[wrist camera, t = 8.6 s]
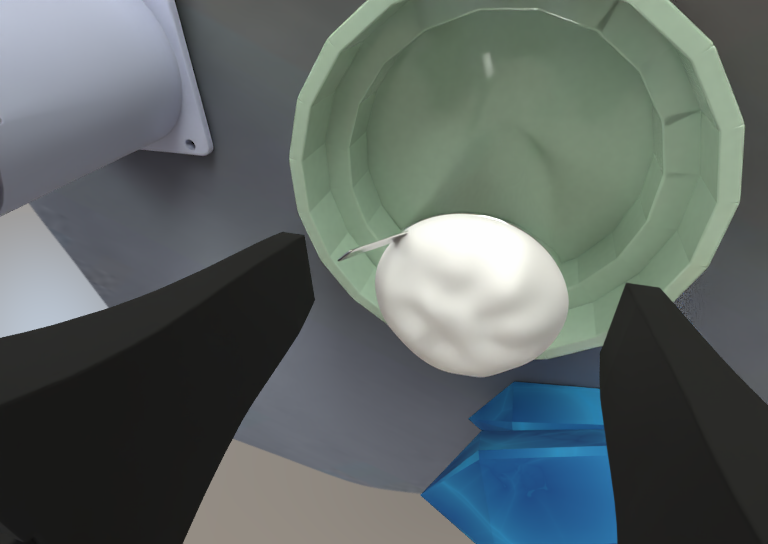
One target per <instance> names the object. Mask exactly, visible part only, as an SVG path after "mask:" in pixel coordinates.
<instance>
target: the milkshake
mask: <svg viewBox="0 0 768 544" xmlns="http://www.w3.org/2000/svg"><path fill="white" fill-rule="evenodd" d="M387 244H389V246H388V247H387V248H386V250H385V251H384V253H383V255H382V257H381V259H380V261H379V263H378V266H377V270H376V276H375V289H376V296H377V301H378V305H379V308H380V311H381V313H382V315H383V318H384V319H385V321H386V323H387V324H388V326H389V327H390V328H391V329H392V331H393V332H394V333H395V334H396V335H397V337H398V338H399V339H400V340H401V341H402V342H403V343H404V344H405V345H406V346H407V347H408V348H409V349H410V350H411V351H412V352H413V353H414V354H415V355H417V356H418V357H419V358H421V359H422V360H423V361H425V362H426V363H428V364H430V365H432V366H433V367H435V368H437V369H440V370H442V371H446V372H449V373H454V374H461V375H467V376H474V377H487V376H492V375H495V374H498V373H502V372H504V371H507V370H510V369H513V368H516V367H519V366H522V365H524V364H527V363H529V362H530V361H532V360H534V359H535V358H537V357H538V356H539V355H541V354H542V353H543V352H544V351H545V350H546V349H547V348H548V347H549V346H550V345H551V344H552V343H553V342H554V340H555V339H556V337H557V336H558V334H559V333H560V331H561V329H562V327H563V325H564V323H565V321H566V318H567V314H568V306H569V299H568V291H567V287H566V283H565V280H564V274H563V269H562V264H561V258H560V253H559V248H558V242H557V237H556V232H555V226H554V220H553V212H552V204H551V196H550V187H549V179H548V171H547V163H546V157H545V155H544V154H543V153H542V152H541V150H540V149H539V148H538V146H537V145H536V144H535V143H534V141H533V140H532V139H531V137H530V136H529V135H527V134H523V133H519V132H515V131H511V130H507V129H503V128H498V129H496V130H493V131H491V132H488V133H485V134H483V135H480V136H477V137H475V138H473V139H472V140H471V142H470V143H469V144H468V146H467V147H466V149H465V150H464V151H463V153H462V154H461V156H460V157H459V158H458V160H457V161H456V162H455V164H454V165H453V167H452V168H451V169H450V171H449V172H448V174H447V175H446V176H445V178H444V179H443V180H442V182H441V183H440V184H439V186H438V187H437V188H436V189H435V191H434V192H433V193H432V194H431V195H430V196H429V198H428V199H427V200H426V201H425V202H424V203H423V205H422V206H421V207H420V208H419V209H418V211H417V212H416V213H415V214H414V215H413V217H412V218H411V219H410V220H409V221H408V223H407V224H406V225H405V226H404V227H403V229H402V230H401V231H400V232H399V233H398V234H396V235H393V236H390V237H387V238H384V239H381V240H378V241H375V242H372V243H369V244H366V245H363V246H360V247H357V248H354V249H351V250H349V251H348V252H347V253H345V254H344V255H343V256H341V257H340V258H339V259H338V261H342V260H345V259H348V258H351V257H354V256H356V255H359V254H362V253H365V252H368V251H370V250H373V249H376V248H379V247H382V246H384V245H387Z"/></svg>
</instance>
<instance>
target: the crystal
mask: <svg viewBox="0 0 768 544" xmlns="http://www.w3.org/2000/svg"><path fill="white" fill-rule="evenodd" d="M469 420H470V421H471V422H472V423H474V424H475V425H476V426H477V427H478V428H479V429H481V430H482V431H481V432H480V433H479V434H478V435H477V436H476V437H475V438H474V439H473V440H472V441H471V442H470V443H469V445H468V446H467V447H466V448H465V449H464V450H463V451H462V452H461V453H460V454H459V455H458V456H457V457H456V458H455V459H454V460H453V461H452V462H451V463H450V465H449V466H448V467H447V468H446V469H445V470H444V471H443V472H442V473H441V474H440V475H439V476H438V477H437V478H436V479H435V480H434V481H433V482H432V483H431V484H430V486H429V487H428V488H427V489H426V490H425V491H424V492H423V493H422V494H421V496H422V497H423V498H424V499H425V500H426V501H428V502H429V503H430V504H431V505H432V506H433V507H434V508H436V509H437V510H438V511H439V512H440V513H441V514H442V515H443V516H445V517H446V518H447V519H448V520H449V521H450V522H451V523H453V524H454V525H455V526H456V527H457V528H458V529H459V530H461V531H462V532H463V533H464V534H465V535H466V536H467V537H468V538H470V539H471V540H472V541H473V542H474V543H476V544H617V522H616V512H615V502H614V494H613V487H612V480H611V473H610V466H609V459H608V452H607V445H606V438H605V431H604V424H603V416H602V409H601V401H600V389H598V388H586V387H575V386H563V385H551V384H539V383H527V382H515V381H514V382H513V383H512V384H510V385H509V386H508V387H507V388H505V389H504V390H503V391H502V392H501V393H499V394H498V395H497V396H496V397H494V398H493V399H492V400H491V401H489V402H488V403H487V404H486V405H485V406H483V407H482V408H481V409H480V410H478V411H477V412H476V413H475V414H474V415H472V416H471V417H470V418H469Z"/></svg>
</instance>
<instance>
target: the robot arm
mask: <svg viewBox="0 0 768 544" xmlns="http://www.w3.org/2000/svg"><path fill="white" fill-rule="evenodd" d="M191 140H192V141H193V142H194V144H195V146H194V145H193V144H192V142H191ZM139 149H141V150H151V151H161V152H171V153H180V154H190V155H200V156H205V155H208V154H209V153H211V152H212V151H213V142H212V139H211V135H210V131H209V127H208V124H207V120H206V116H205V112H204V109H203V105H202V101H201V97H200V94H199V90H198V86H197V83H196V79H195V75H194V71H193V68H192V64H191V60H190V56H189V53H188V49H187V45H186V41H185V38H184V34H183V30H182V26H181V23H180V19H179V15H178V11H177V8H176V4H175V0H0V216H3V215H5V214H7V213H9V212H11V211H13V210H15V209H17V208H19V207H21V206H23V205H25V204H27V203H29V202H32V201H34V200H36V199H38V198H40V197H42V196H44V195H46V194H48V193H50V192H52V191H54V190H56V189H58V188H60V187H62V186H65V185H67V184H69V183H71V182H73V181H75V180H77V179H79V178H81V177H83V176H85V175H87V174H89V173H91V172H93V171H95V170H98V169H100V168H102V167H104V166H106V165H108V164H110V163H112V162H114V161H116V160H118V159H120V158H122V157H124V156H126V155H129V154H131V153H133V152H135V151H137V150H139ZM314 301H315V298H314V291H313V285H312V279H311V273H310V267H309V260H308V254H307V248H306V242H305V236H304V235H299V234H292V233H285V232H281V233H279V234H276V235H274V236H271V237H269V238H267V239H265V240H262V241H260V242H258V243H256V244H254V245H252V246H250V247H248V248H246V249H244V250H242V251H240V252H238V253H236V254H234V255H232V256H230V257H228V258H226V259H224V260H222V261H220V262H218V263H216V264H214V265H211V266H209V267H207V268H205V269H203V270H201V271H199V272H197V273H194V274H192V275H190V276H188V277H185V278H183V279H181V280H179V281H177V282H174V283H172V284H170V285H168V286H166V287H163V288H161V289H158V290H156V291H154V292H151V293H148V294H146V295H143V296H141V297H138V298H135V299H133V300H130V301H127V302H124V303H122V304H119V305H116V306H113V307H110V308H107V309H105V310H101V311H98V312H95V313H92V314H88V315H85V316H81V317H78V318H75V319H72V320H68V321H65V322H62V323H58V324H55V325H51V326H47V327H44V328H40V329H36V330H32V331H28V332H24V333H20V334H15V335H11V336H6V337H2V338H0V544H183V542H184V539H185V537H186V535H187V533H188V530H189V528H190V526H191V524H192V522H193V519H194V517H195V515H196V512H197V510H198V508H199V506H200V504H201V502H202V499H203V497H204V495H205V493H206V491H207V489H208V487H209V485H210V482H211V480H212V478H213V476H214V474H215V472H216V470H217V468H218V466H219V464H220V462H221V460H222V458H223V456H224V454H225V452H226V450H227V448H228V446H229V444H230V443H231V441H232V439H233V437H234V435H235V433H236V431H237V429H238V427H239V426H240V424H241V422H242V420H243V418H244V417H245V415H246V413H247V412H248V410H249V408H250V407H251V405H252V403H253V402H254V400H255V399H256V397H257V396H258V394H259V393H260V391H261V390H262V388H263V387H264V385H265V384H266V383H267V381H268V380H269V378H270V377H271V375H272V374H273V372H274V371H275V369H276V368H277V366H278V365H279V363H280V362H281V360H282V359H283V357H284V356H285V354H286V353H287V351H288V349H289V348H290V346H291V345H292V343H293V342H294V340H295V339H296V337H297V336H298V334H299V332H300V330H301V328H302V326H303V324H304V322H305V320H306V318H307V316H308V314H309V312H310V309H311V307H312V305H313V303H314ZM600 401H601V409H602V416H603V424H604V431H605V438H606V445H607V452H608V459H609V466H610V473H611V480H612V487H613V494H614V502H615V512H616V522H617V544H768V405H767V404H766V403H765V402H764V401H763V400H762V399H761V398H760V397H759V396H758V395H757V394H756V393H755V392H754V391H753V390H752V389H751V388H750V387H749V386H748V385H747V384H746V383H745V382H744V381H743V380H742V379H741V378H740V377H739V376H738V375H737V374H736V373H735V372H734V371H733V370H732V369H731V368H730V366H729V365H728V364H727V363H726V362H725V361H724V360H723V359H722V358H721V357H720V356H719V355H718V353H717V352H716V351H715V350H714V349H713V348H712V347H711V346H710V345H709V343H708V342H707V341H706V340H705V339H704V338H703V337H702V336H701V334H700V333H699V332H698V331H697V330H696V329H695V328H694V326H693V325H692V324H691V323H690V322H689V321H688V319H687V318H686V317H685V316H684V315H683V314H682V312H681V311H680V310H679V309H678V308H677V307H676V305H675V304H674V303H673V302H672V301H671V300H670V298H669V297H668V296H667V295H666V294H665V293H664V292H663V291H662V289H661V288H660V287H653V286H646V285H639V284H632V283H626V284H625V287H624V289H623V292H622V295H621V297H620V300H619V303H618V306H617V308H616V311H615V314H614V317H613V319H612V322H611V325H610V328H609V330H608V333H607V336H606V338H605V341H604V344H603V347H602V349H601V352H600Z"/></svg>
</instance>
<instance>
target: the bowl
mask: <svg viewBox="0 0 768 544" xmlns="http://www.w3.org/2000/svg"><path fill="white" fill-rule="evenodd" d="M498 128H503V129H507V130H511V131H515V132H519V133H523V134H527V135H529V136H530V137H531V139H532V140H533V141H534V143H535V144H536V145H537V146H538V148H539V149H540V150H541V152H542V153H543V154H544V155H545V157H546V163H547V171H548V179H549V187H550V196H551V204H552V212H553V220H554V226H555V232H556V237H557V242H558V248H559V253H560V258H561V264H562V269H563V274H564V280H565V283H566V287H567V291H568V299H569V306H568V314H567V318H566V321H565V323H564V325H563V327H562V329H561V331H560V333H559V334H558V336H557V337H556V339H555V340H554V342H553V343H552V344H551V345H550V346H549V347H548V348H547V349H546V350H545V351H544V352H543V353H542V354H541V355H539V356H538V357H537V358H535V359H534V360H546V359H551V358H555V357H560V356H564V355H568V354H572V353H576V352H580V351H584V350H588V349H592V348H596V347H600V346H603V344H604V341H605V338H606V336H607V333H608V330H609V328H610V325H611V322H612V319H613V317H614V314H615V311H616V308H617V306H618V303H619V300H620V297H621V295H622V292H623V289H624V287H625V284H626V283H632V284H639V285H646V286H653V287H660V288H661V289H662V291H663V292H664V293H665V294H666V295H667V296H668V297H669V298H670V300H671V301H672V302H674V301H675V300H676V299H677V298H678V297H679V296H680V295H681V294H682V293H683V292H684V291H685V290H686V289H687V288H688V287H689V286H690V285H691V284H692V283H693V282H694V281H695V280H696V279H697V278H698V277H699V276H700V275H701V274H702V273H703V272H704V271H705V270H706V269H707V267H708V266H709V265H710V263H711V261H712V259H713V256H714V254H715V252H716V250H717V248H718V246H719V244H720V242H721V240H722V238H723V236H724V234H725V232H726V230H727V228H728V226H729V224H730V222H731V220H732V218H733V216H734V214H735V211H736V209H737V207H738V205H739V202H740V198H741V183H742V167H743V152H744V137H745V125H744V119H743V117H742V114H741V112H740V109H739V106H738V104H737V101H736V99H735V96H734V93H733V91H732V88H731V85H730V83H729V80H728V78H727V75H726V72H725V70H724V67H723V65H722V62H721V59H720V57H719V54H718V52H717V49H716V46H714V45H713V42H712V41H711V40H710V39H709V38H708V37H707V36H706V35H705V34H704V33H703V32H702V31H701V30H700V29H699V28H698V27H696V26H695V25H694V24H693V23H692V22H691V21H690V20H689V19H688V18H687V17H686V16H685V15H684V14H683V13H682V12H681V11H680V10H679V9H678V8H677V7H676V6H675V5H674V4H673V3H672V2H671V1H669V0H367V1H366V2H365V3H364V4H363V5H361V6H360V7H359V8H358V9H357V10H356V11H355V12H354V13H353V14H352V15H351V16H350V17H349V18H348V19H347V20H346V21H345V22H344V23H343V24H342V25H341V26H340V27H338V28H337V29H336V30H335V31H334V32H333V33H332V34H331V35H330V36H329V37H328V39H327V40H326V42H325V44H324V46H323V48H322V50H321V52H320V54H319V56H318V58H317V60H316V62H315V64H314V66H313V68H312V70H311V72H310V74H309V76H308V78H307V80H306V82H305V84H304V86H303V88H302V90H301V92H300V94H299V96H298V99H297V103H296V110H295V118H294V125H293V132H292V139H291V146H290V153H289V163H290V169H291V175H292V181H293V187H294V193H295V199H296V205H297V211H298V214H299V216H300V218H301V221H302V223H303V225H304V227H305V229H306V231H307V233H308V235H309V237H310V239H311V242H312V244H313V246H314V248H315V250H316V252H317V254H318V256H319V258H320V259H321V261H322V263H323V264H324V265H325V266H326V267H327V269H328V270H329V271H330V272H331V273H332V275H333V276H334V277H335V278H336V279H337V281H338V282H339V283H340V284H341V285H342V287H343V288H344V289H345V290H346V291H347V293H348V294H349V295H350V296H351V297H352V298H353V299H354V300H355V301H356V302H358V303H359V304H361V305H362V306H363V307H365V308H366V309H367V310H369V311H370V312H371V313H373V314H374V315H375V316H377V317H378V318H379V319H381V320H382V321H383V322H385V323H386V321H385V319H384V318H383V315H382V313H381V311H380V308H379V305H378V301H377V296H376V289H375V276H376V270H377V266H378V263H379V261H380V259H381V257H382V255H383V253H384V251H385V250H386V248H387V247H388V246H389V244H387V245H384V246H382V247H379V248H376V249H373V250H370V251H368V252H365V253H362V254H359V255H356V256H354V257H351V258H348V259H345V260H342V261H338V259H339V258H340V257H341V256H343V255H344V254H345V253H347V252H348V251H349V250H351V249H354V248H357V247H360V246H363V245H366V244H369V243H372V242H375V241H378V240H381V239H384V238H387V237H390V236H393V235H396V234H398V233H399V232H400V231H401V230H402V229H403V227H404V226H405V225H406V224H407V223H408V221H409V220H410V219H411V218H412V217H413V215H414V214H415V213H416V212H417V211H418V209H419V208H420V207H421V206H422V205H423V203H424V202H425V201H426V200H427V199H428V198H429V196H430V195H431V194H432V193H433V192H434V191H435V189H436V188H437V187H438V186H439V184H440V183H441V182H442V180H443V179H444V178H445V176H446V175H447V174H448V172H449V171H450V169H451V168H452V167H453V165H454V164H455V162H456V161H457V160H458V158H459V157H460V156H461V154H462V153H463V151H464V150H465V149H466V147H467V146H468V144H469V143H470V142H471V140H472V139H473V138H475V137H477V136H480V135H483V134H485V133H488V132H491V131H493V130H496V129H498ZM386 324H387V323H386ZM387 325H388V324H387Z"/></svg>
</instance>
